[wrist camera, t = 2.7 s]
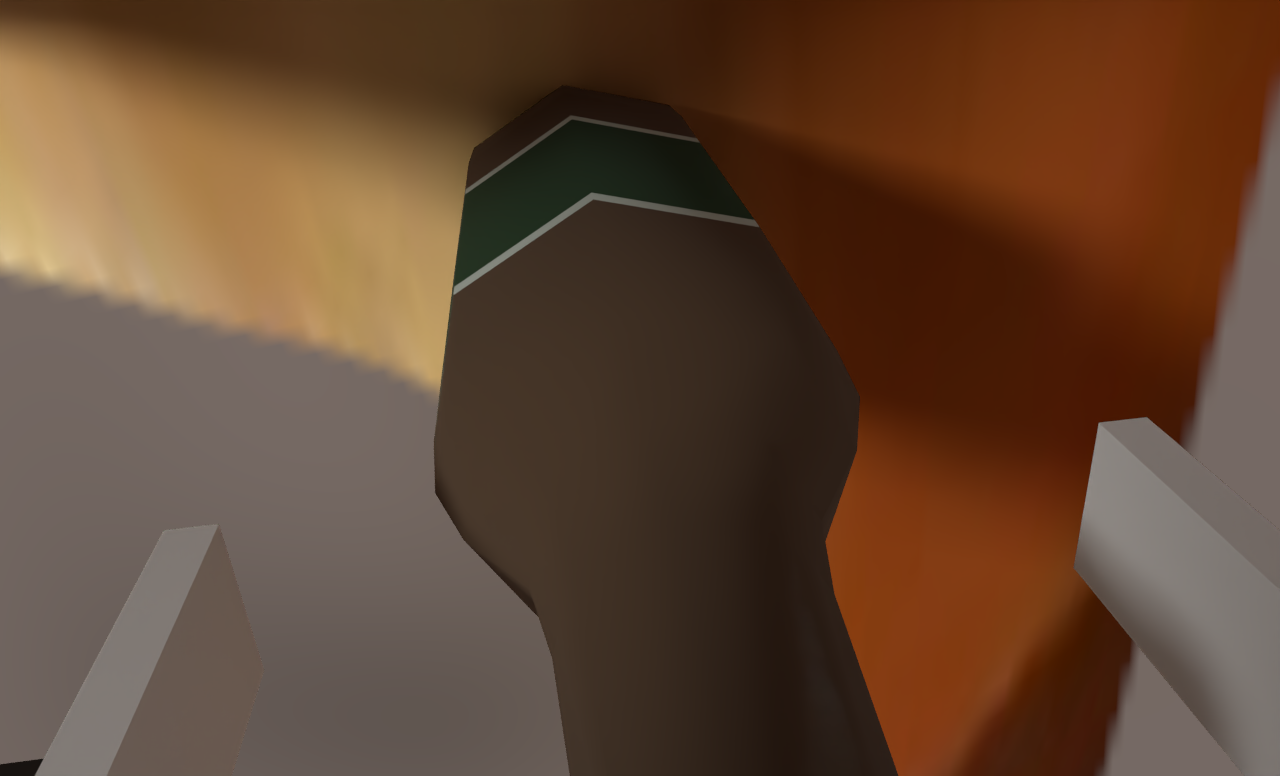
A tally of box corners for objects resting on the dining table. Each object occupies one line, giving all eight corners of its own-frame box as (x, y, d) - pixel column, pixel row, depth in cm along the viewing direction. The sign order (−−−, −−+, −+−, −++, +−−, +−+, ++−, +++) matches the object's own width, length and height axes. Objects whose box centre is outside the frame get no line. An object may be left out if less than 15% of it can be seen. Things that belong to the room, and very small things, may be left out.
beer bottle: (703, 47, 27) (1451, 729, 6) (742, 308, 30) (1284, 1313, 9) (418, 109, 27) (86, 1048, 5) (492, 364, 30) (466, 1515, 9)
